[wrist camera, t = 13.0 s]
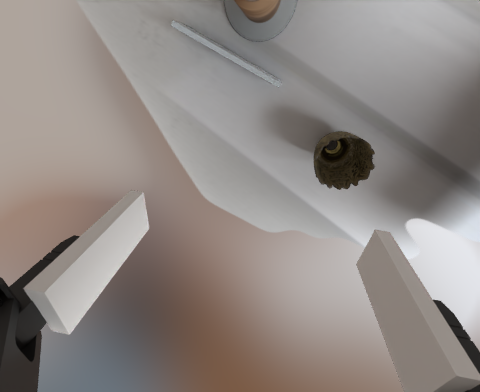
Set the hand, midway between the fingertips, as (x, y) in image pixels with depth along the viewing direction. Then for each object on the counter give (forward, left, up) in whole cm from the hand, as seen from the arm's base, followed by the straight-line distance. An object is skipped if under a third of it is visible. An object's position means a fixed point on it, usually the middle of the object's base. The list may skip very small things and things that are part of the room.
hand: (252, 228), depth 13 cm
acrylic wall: (+9, -5, -26) cm, 28 cm away
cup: (-11, -1, -27) cm, 29 cm away
